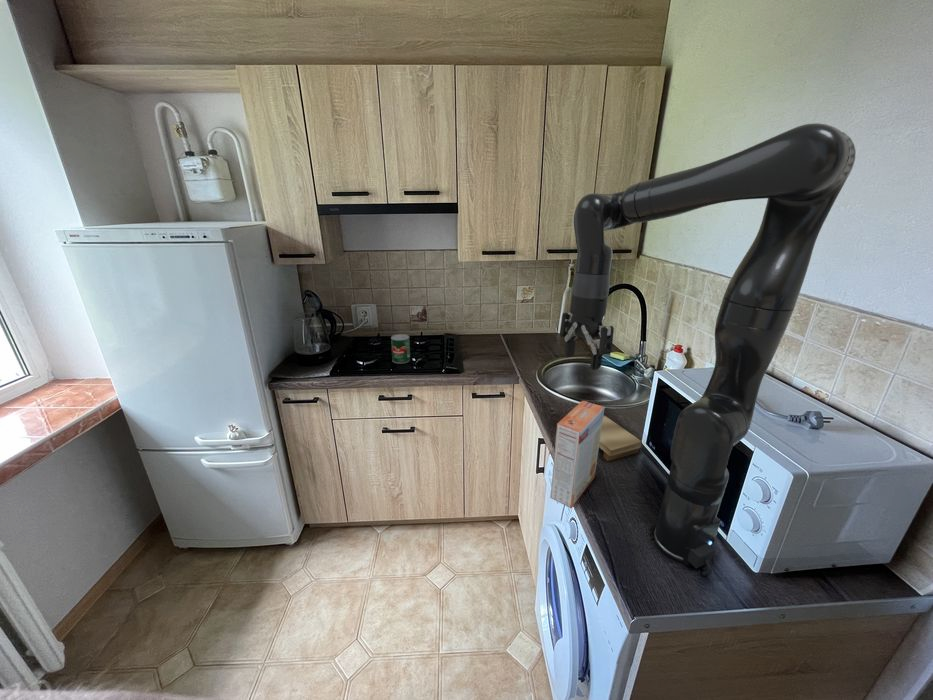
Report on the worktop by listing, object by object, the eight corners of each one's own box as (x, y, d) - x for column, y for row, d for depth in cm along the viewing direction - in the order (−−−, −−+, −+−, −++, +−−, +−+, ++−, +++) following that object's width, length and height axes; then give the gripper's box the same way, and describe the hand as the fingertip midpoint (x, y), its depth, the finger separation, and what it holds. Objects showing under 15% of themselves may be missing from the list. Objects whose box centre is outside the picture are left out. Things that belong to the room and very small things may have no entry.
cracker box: (573, 468, 101) (582, 398, 93) (595, 478, 97) (606, 406, 90) (547, 497, 91) (556, 421, 83) (571, 510, 87) (582, 431, 80)
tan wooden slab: (639, 453, 107) (642, 441, 106) (609, 462, 103) (611, 450, 102) (598, 423, 122) (600, 412, 121) (570, 430, 118) (571, 419, 117)
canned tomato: (393, 364, 165) (392, 340, 161) (391, 358, 172) (389, 334, 168) (411, 362, 167) (410, 338, 163) (408, 356, 174) (407, 333, 170)
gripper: (555, 288, 87) (549, 354, 93) (600, 301, 75) (590, 376, 81) (580, 286, 90) (573, 350, 96) (628, 298, 78) (617, 371, 84)
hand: (581, 362), depth 88 cm, fingers open, 8 cm apart
